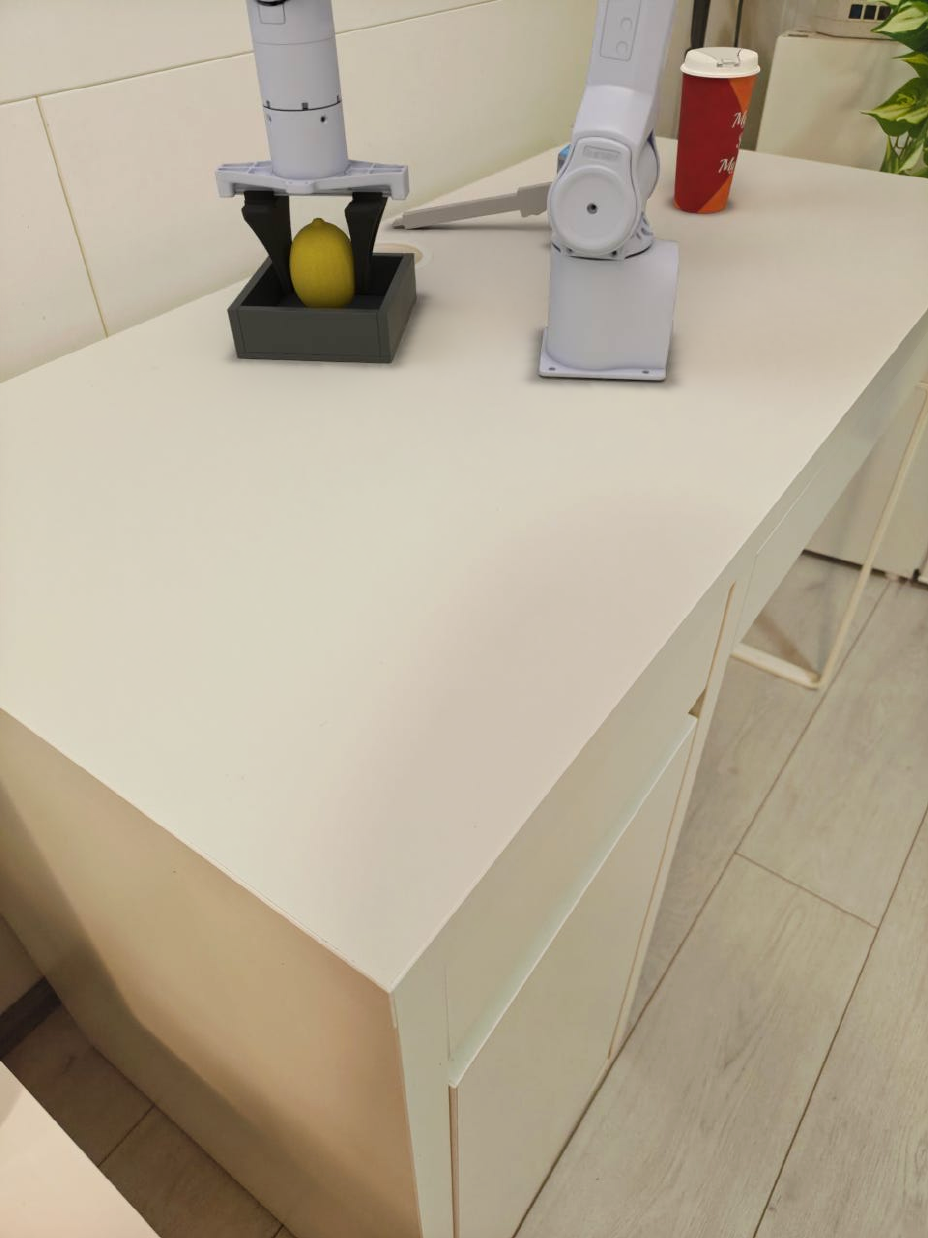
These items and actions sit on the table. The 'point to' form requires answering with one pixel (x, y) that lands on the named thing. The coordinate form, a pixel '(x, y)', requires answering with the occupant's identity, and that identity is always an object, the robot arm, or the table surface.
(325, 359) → the dark gray open box
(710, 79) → the paper cup
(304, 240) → the lemon
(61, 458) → the table surface
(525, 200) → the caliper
